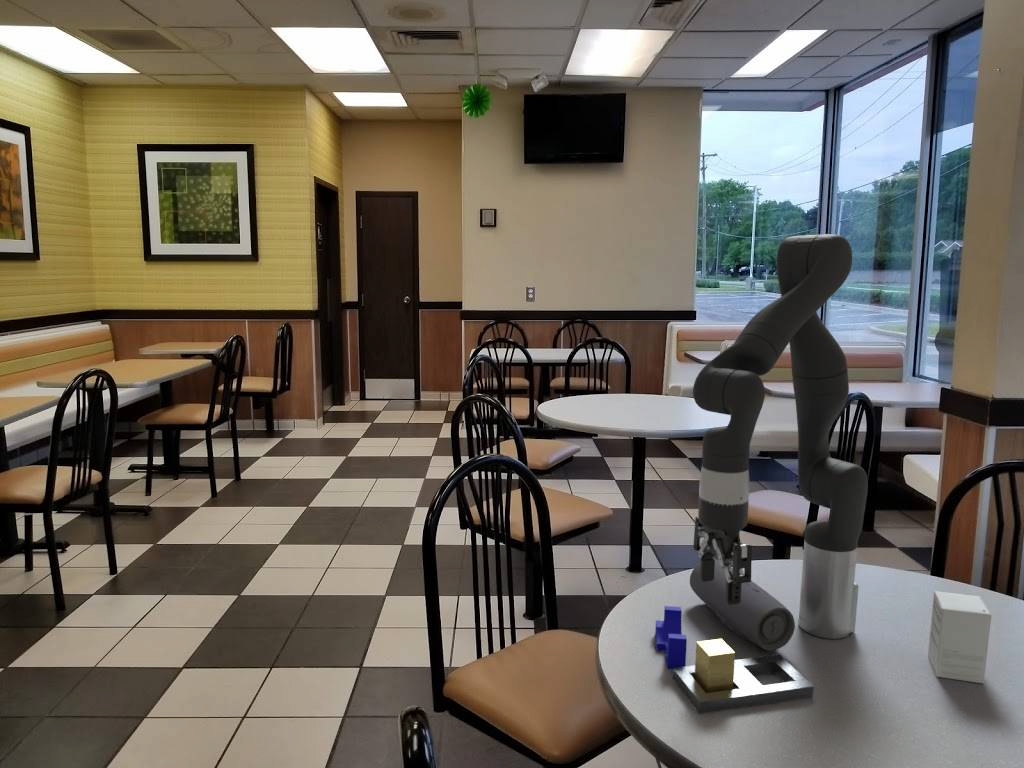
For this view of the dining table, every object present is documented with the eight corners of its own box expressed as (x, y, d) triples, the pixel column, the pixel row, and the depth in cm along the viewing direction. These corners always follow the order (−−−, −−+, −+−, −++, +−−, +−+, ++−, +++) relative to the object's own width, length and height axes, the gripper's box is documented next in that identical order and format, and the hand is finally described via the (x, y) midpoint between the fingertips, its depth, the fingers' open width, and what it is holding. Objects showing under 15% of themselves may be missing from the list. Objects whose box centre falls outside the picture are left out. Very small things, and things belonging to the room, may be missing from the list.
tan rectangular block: (719, 682, 126) (721, 638, 125) (732, 698, 122) (735, 652, 121) (694, 686, 125) (696, 641, 124) (706, 701, 121) (709, 655, 120)
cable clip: (655, 634, 142) (656, 605, 141) (679, 636, 142) (680, 607, 141) (658, 669, 131) (660, 637, 130) (685, 671, 130) (686, 639, 129)
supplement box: (973, 662, 133) (981, 595, 130) (984, 685, 126) (992, 614, 123) (926, 655, 135) (933, 589, 133) (934, 677, 128) (942, 607, 126)
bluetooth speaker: (796, 652, 136) (800, 601, 134) (751, 661, 133) (755, 608, 131) (725, 598, 157) (728, 553, 155) (686, 604, 154) (688, 558, 153)
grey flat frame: (778, 664, 132) (779, 654, 131) (812, 697, 122) (813, 686, 122) (672, 678, 127) (672, 668, 127) (699, 713, 118) (700, 702, 117)
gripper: (770, 507, 112) (764, 609, 115) (723, 479, 125) (719, 570, 128) (724, 511, 110) (719, 614, 113) (681, 482, 124) (678, 575, 127)
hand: (719, 591), depth 121 cm, fingers open, 8 cm apart
